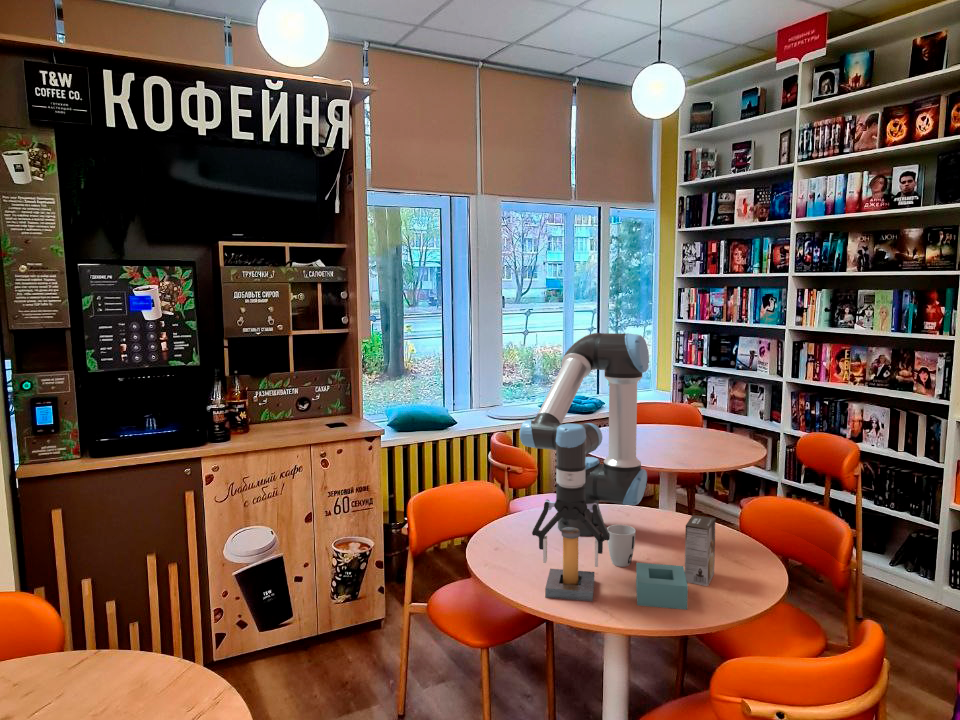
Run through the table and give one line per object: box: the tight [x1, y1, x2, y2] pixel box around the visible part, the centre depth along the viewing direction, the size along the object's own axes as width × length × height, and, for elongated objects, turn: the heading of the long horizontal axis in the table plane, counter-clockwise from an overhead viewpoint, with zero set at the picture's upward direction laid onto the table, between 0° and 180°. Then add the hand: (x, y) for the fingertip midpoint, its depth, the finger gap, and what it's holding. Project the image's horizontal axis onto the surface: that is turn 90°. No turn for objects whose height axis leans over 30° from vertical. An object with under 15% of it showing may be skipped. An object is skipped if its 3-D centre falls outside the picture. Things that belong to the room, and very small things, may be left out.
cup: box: [606, 524, 637, 568], centre depth 188 cm, size 8×8×10 cm
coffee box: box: [684, 514, 716, 587], centre depth 177 cm, size 9×6×16 cm
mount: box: [545, 568, 595, 602], centre depth 173 cm, size 12×12×2 cm
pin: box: [560, 527, 580, 585], centre depth 172 cm, size 5×5×16 cm
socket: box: [635, 562, 689, 610], centre depth 168 cm, size 12×12×6 cm
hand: (570, 562), depth 172 cm, fingers open, 13 cm apart
